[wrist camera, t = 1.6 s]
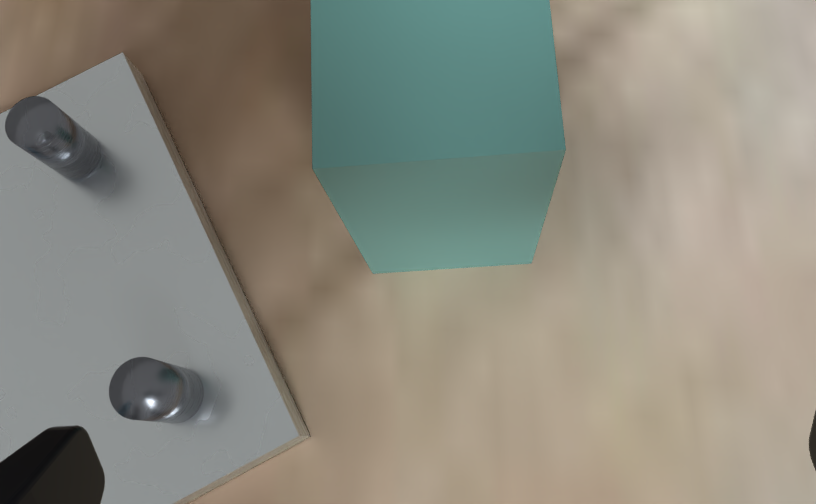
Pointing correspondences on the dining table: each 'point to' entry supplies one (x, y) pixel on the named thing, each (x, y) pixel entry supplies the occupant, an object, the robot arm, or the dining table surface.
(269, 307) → the dining table surface
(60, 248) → the plate
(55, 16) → the dining table surface
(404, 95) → the module box
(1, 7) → the dining table surface
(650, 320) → the dining table surface
